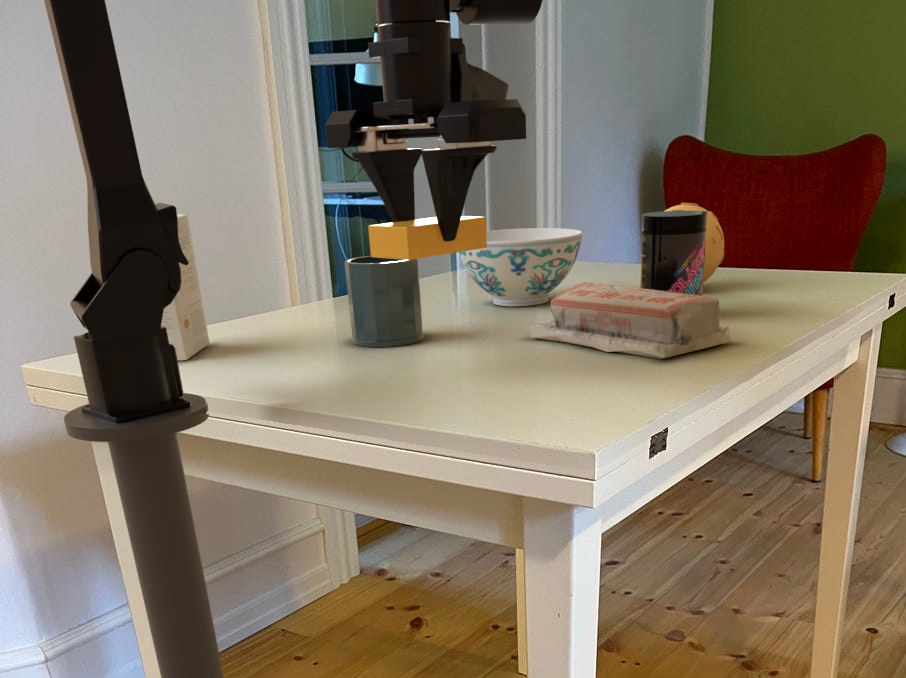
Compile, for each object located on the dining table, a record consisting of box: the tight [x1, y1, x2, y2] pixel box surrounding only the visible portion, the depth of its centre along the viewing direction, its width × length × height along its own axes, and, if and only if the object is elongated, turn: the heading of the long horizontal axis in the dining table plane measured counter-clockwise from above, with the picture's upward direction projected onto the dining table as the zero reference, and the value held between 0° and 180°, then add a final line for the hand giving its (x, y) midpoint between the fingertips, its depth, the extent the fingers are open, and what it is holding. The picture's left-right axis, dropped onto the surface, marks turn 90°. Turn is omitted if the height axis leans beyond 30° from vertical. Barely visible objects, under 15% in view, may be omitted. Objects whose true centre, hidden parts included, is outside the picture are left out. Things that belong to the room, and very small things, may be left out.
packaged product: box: [528, 282, 731, 360], centre depth 96 cm, size 18×5×10 cm
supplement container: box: [639, 210, 707, 296], centre depth 105 cm, size 7×7×10 cm
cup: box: [344, 255, 424, 348], centre depth 101 cm, size 7×7×8 cm
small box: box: [161, 213, 211, 362], centre depth 99 cm, size 8×6×13 cm
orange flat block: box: [367, 215, 487, 260], centre depth 84 cm, size 9×5×2 cm, turn 135°
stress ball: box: [664, 202, 726, 284], centre depth 122 cm, size 10×10×10 cm
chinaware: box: [458, 227, 583, 307], centre depth 120 cm, size 15×15×8 cm
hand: (428, 239), depth 84 cm, fingers closed on orange flat block, 5 cm apart
